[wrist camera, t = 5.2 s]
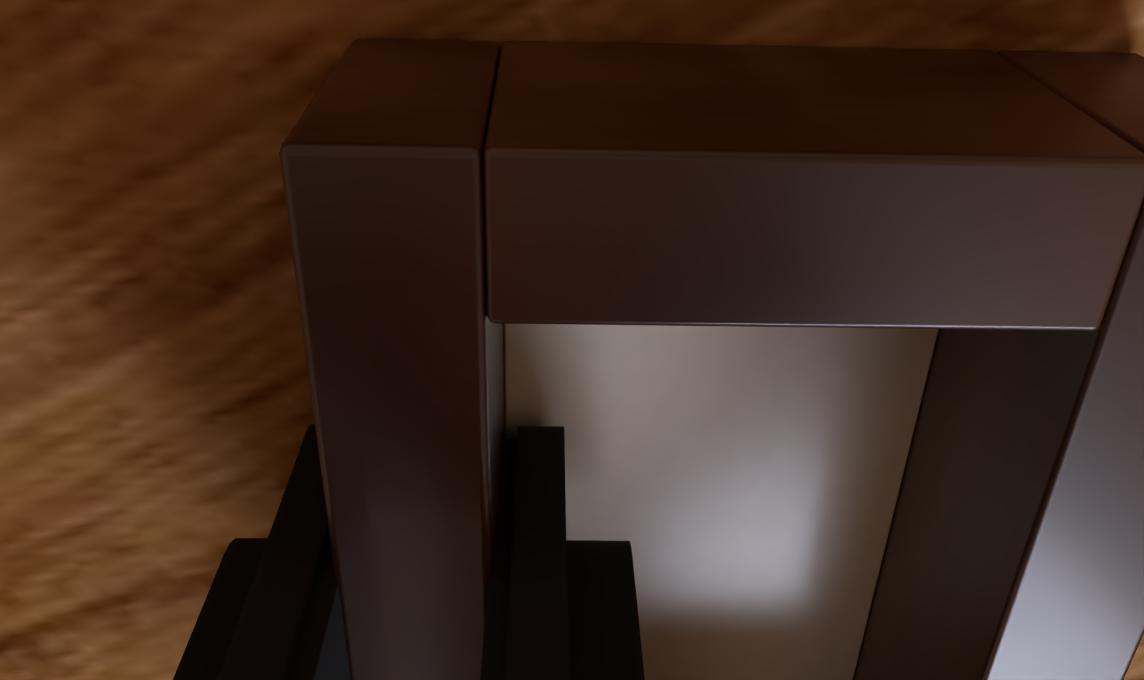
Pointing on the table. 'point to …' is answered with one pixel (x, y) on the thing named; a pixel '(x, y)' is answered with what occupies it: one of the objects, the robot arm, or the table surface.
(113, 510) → the table surface
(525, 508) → the robot arm
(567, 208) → the frame
